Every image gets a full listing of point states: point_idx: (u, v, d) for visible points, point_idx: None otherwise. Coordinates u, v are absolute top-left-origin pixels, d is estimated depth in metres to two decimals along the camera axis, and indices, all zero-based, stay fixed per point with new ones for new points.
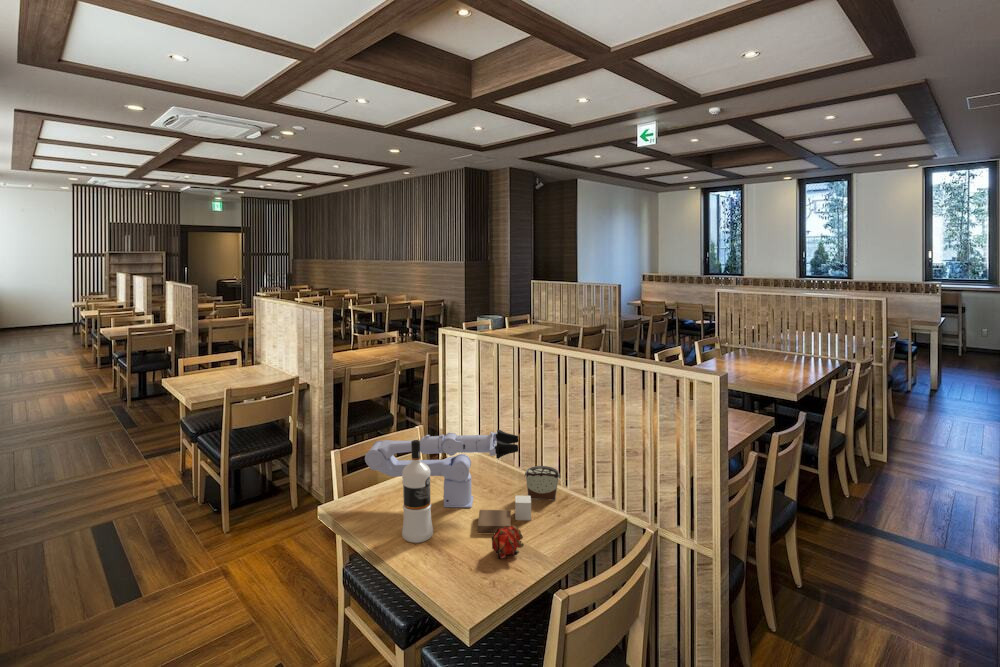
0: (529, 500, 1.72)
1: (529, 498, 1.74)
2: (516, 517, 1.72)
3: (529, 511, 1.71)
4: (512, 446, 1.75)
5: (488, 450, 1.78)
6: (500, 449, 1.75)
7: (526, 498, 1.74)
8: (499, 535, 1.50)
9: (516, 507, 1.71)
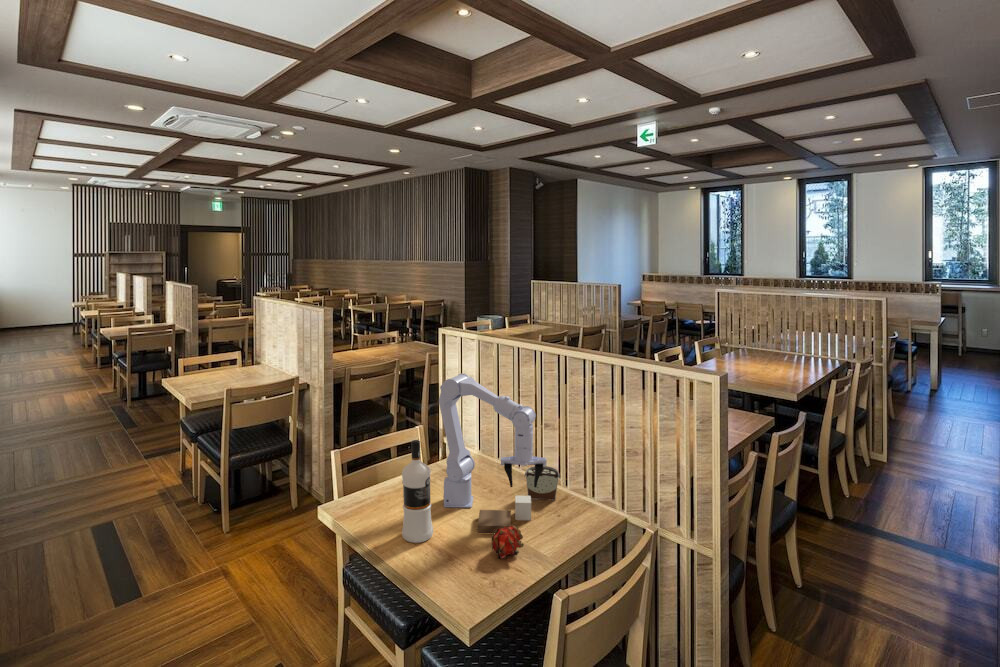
0: (529, 500, 1.72)
1: (529, 498, 1.74)
2: (516, 517, 1.72)
3: (529, 511, 1.71)
4: (509, 481, 1.71)
5: None
6: None
7: (526, 498, 1.74)
8: (499, 535, 1.50)
9: (516, 507, 1.71)
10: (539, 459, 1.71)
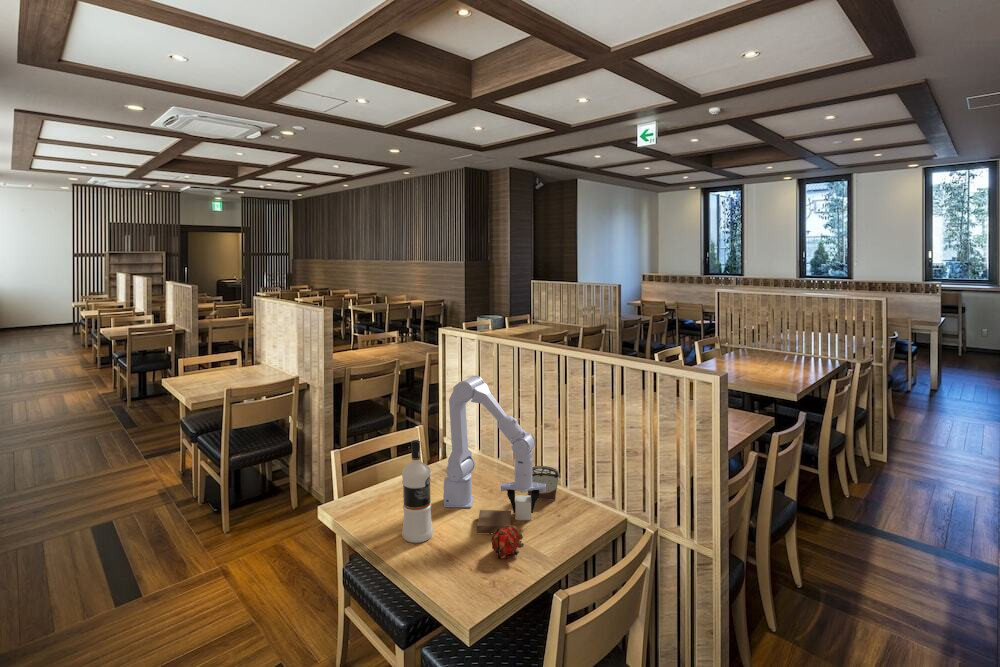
0: (529, 500, 1.72)
1: (529, 498, 1.74)
2: (516, 517, 1.72)
3: (529, 511, 1.71)
4: None
5: None
6: None
7: (526, 498, 1.74)
8: (499, 535, 1.50)
9: (516, 507, 1.71)
10: (539, 485, 1.72)
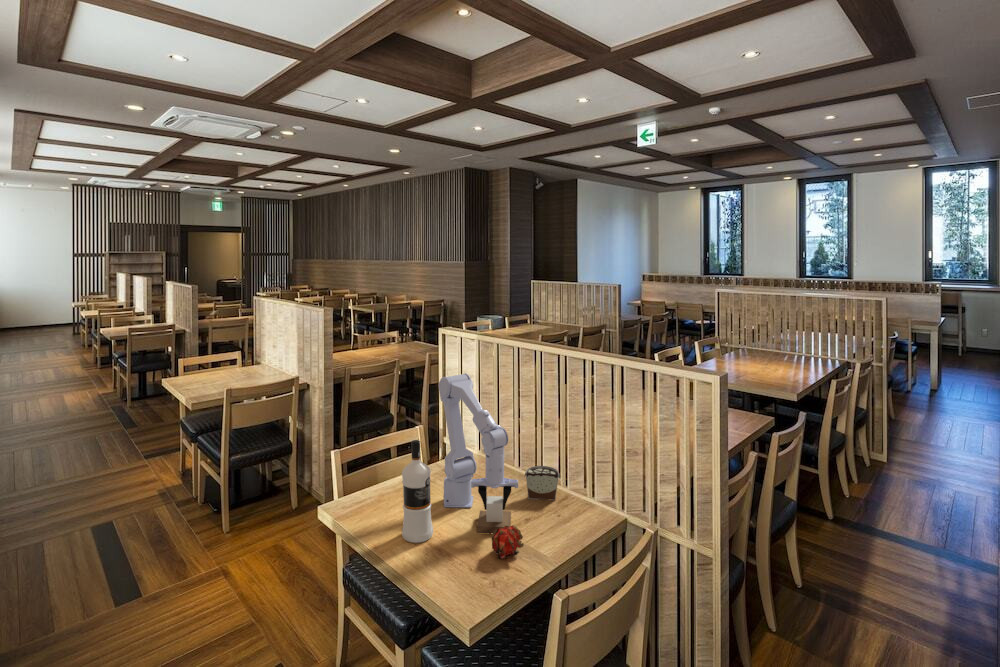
0: (501, 501, 1.66)
1: (501, 499, 1.68)
2: (487, 518, 1.66)
3: (501, 512, 1.65)
4: None
5: None
6: None
7: (498, 499, 1.68)
8: (499, 535, 1.50)
9: (487, 508, 1.65)
10: (511, 481, 1.66)
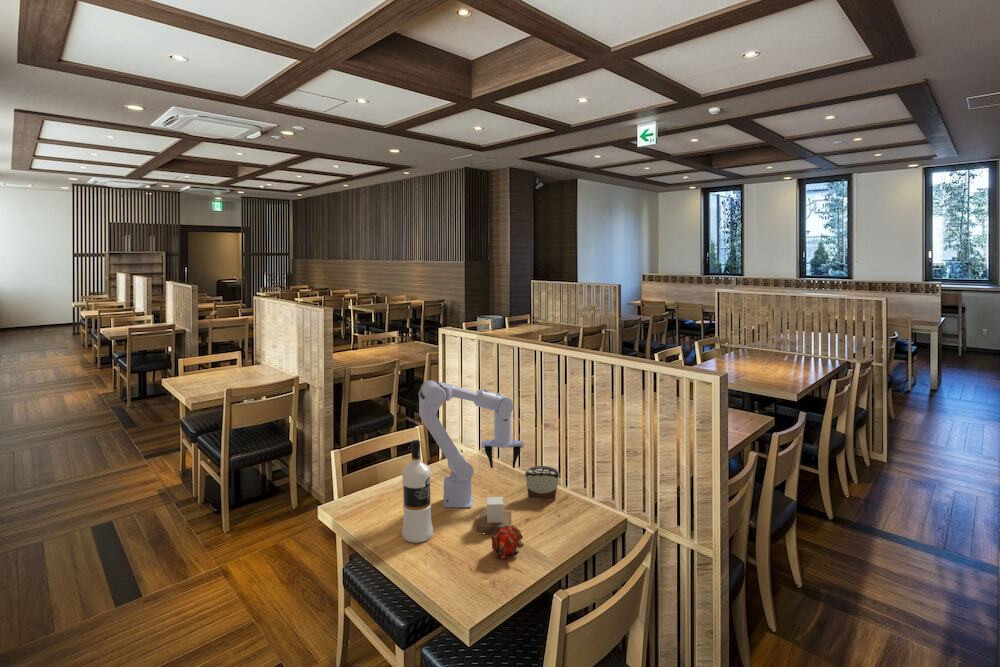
0: (501, 501, 1.66)
1: (501, 499, 1.67)
2: (488, 519, 1.65)
3: (501, 513, 1.65)
4: None
5: None
6: None
7: (498, 499, 1.67)
8: (499, 535, 1.50)
9: (488, 509, 1.64)
10: (517, 442, 1.86)
